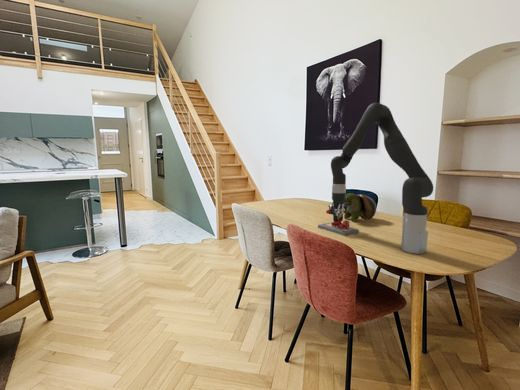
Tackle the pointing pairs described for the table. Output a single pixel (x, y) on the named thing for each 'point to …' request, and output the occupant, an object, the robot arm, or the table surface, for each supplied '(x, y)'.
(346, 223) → the toy fire truck
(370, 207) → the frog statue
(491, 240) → the table surface
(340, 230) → the board
